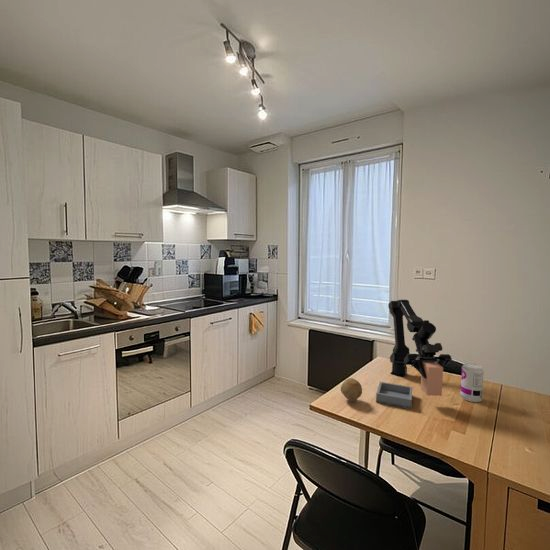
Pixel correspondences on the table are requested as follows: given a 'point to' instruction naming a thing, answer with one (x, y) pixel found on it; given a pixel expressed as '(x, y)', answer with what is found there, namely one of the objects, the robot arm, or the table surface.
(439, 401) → the table surface
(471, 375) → the supplement can
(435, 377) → the carton
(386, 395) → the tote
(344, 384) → the natural sponge
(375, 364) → the table surface
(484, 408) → the table surface
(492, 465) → the table surface
